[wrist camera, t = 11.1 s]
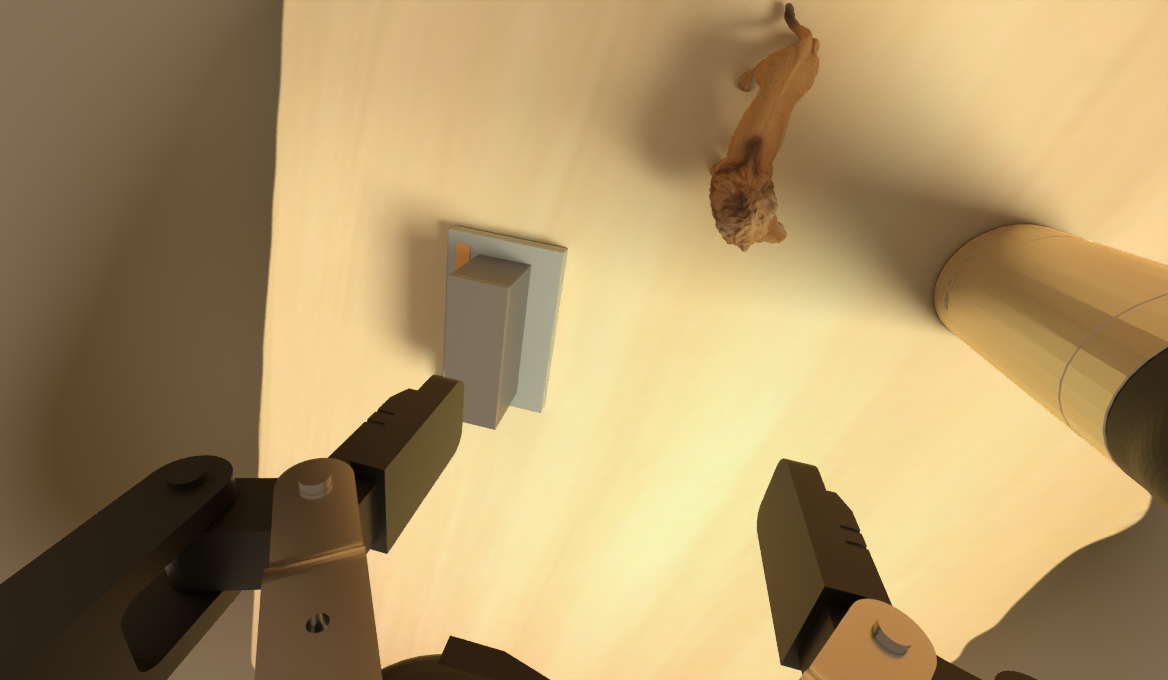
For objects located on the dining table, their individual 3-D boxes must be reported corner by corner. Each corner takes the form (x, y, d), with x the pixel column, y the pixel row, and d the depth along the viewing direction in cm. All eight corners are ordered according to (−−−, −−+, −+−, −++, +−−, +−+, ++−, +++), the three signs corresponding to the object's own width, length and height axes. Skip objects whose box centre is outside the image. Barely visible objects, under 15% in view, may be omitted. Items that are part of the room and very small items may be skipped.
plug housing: (531, 265, 41) (508, 288, 36) (516, 392, 47) (494, 429, 41) (479, 254, 42) (448, 275, 36) (470, 382, 47) (443, 417, 42)
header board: (567, 248, 42) (550, 268, 36) (544, 404, 49) (528, 440, 43) (455, 225, 43) (423, 241, 37) (449, 381, 50) (421, 413, 44)
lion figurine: (765, 232, 38) (788, 264, 30) (697, 222, 39) (701, 251, 31) (826, 8, 32) (875, -27, 24) (743, 1, 33) (763, -36, 24)
